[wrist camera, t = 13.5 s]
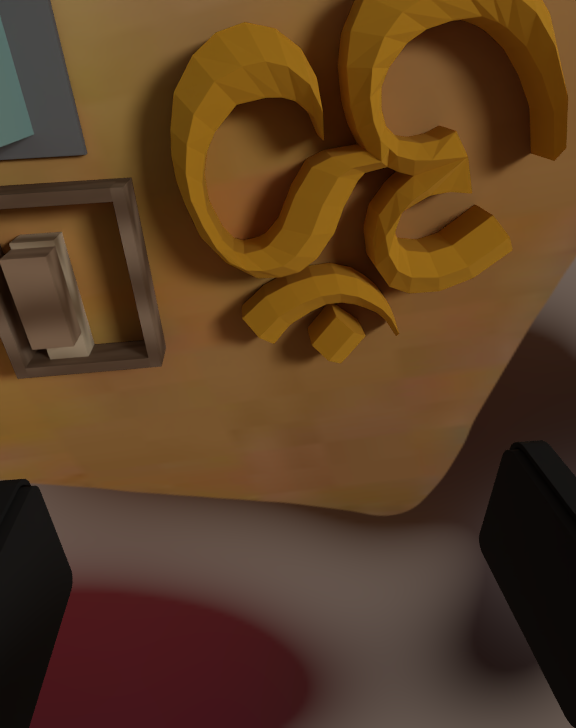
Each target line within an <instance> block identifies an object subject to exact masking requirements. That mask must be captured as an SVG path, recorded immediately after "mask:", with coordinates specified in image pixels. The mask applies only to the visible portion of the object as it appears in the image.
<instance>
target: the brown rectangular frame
mask: <svg viewBox="0 0 576 728" xmlns="http://www.w3.org/2000/svg"><path fill="white" fill-rule="evenodd" d="M101 202H113V205H114V209H115V213H116V218H117V222H118V227H119V231H120V235H121V240H122V244H123V248H124V253H125V257H126V262H127V266H128V270H129V275H130V279H131V283H132V288H133V292H134V297H135V301H136V305H137V310H138V314H139V318H140V323H141V327H142V332H143V336H144V340H142V341H130V342H118V343H106V344H94V346H93V348H92V351H91V353H90V355H89V356H86V357H74V358H62V359H50V357H49V355H48V352H47V349H37V350H32V348H31V345H30V343H29V340H28V337H27V334H26V332H25V329H24V326H23V324H22V321H21V318H20V316H19V313H18V310H17V308H16V305H15V302H14V300H13V297H12V294H11V292H10V289H9V286H8V283H7V281H6V278H5V275H4V273H3V270H2V267H1V265H0V337H1V339H2V342H3V344H4V347H5V349H6V351H7V354H8V356H9V359H10V361H11V364H12V366H13V369H14V371H15V374H16V376H17V378H18V379H21V378H32V377H44V376H56V375H67V374H79V373H91V372H102V371H114V370H125V369H137V368H149V367H160V366H162V362H163V358H164V354H165V350H166V345H165V340H164V335H163V331H162V326H161V321H160V316H159V311H158V306H157V301H156V296H155V291H154V286H153V281H152V276H151V272H150V267H149V262H148V257H147V252H146V247H145V242H144V237H143V232H142V227H141V222H140V218H139V213H138V208H137V203H136V198H135V193H134V188H133V183H132V178H118V179H102V180H87V181H71V182H55V183H39V184H24V185H8V186H0V209H11V208H26V207H41V206H56V205H71V204H86V203H101ZM3 256H4V254H3V251H2V249H1V246H0V259H1V258H2V257H3Z"/></svg>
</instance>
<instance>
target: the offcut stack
mask: <svg viewBox="0 0 576 728" xmlns="http://www.w3.org/2000/svg"><path fill="white" fill-rule="evenodd" d="M9 245H10V247H11V250H10V251H9V252H8V253H7V254H5V255H4V256H3V257H2V258H1V259H0V265H1V267H2V270H3V273H4V275H5V278H6V281H7V283H8V286H9V289H10V292H11V294H12V297H13V300H14V302H15V305H16V308H17V310H18V313H19V316H20V318H21V321H22V324H23V326H24V329H25V332H26V334H27V337H28V340H29V343H30V345H31V348H32V350H37V349H47V352H48V355H49V357H50V359H62V358H74V357H86V356H89V355H90V353H91V351H92V348H93V346H94V340H93V337H92V334H91V330H90V327H89V323H88V320H87V317H86V313H85V310H84V306H83V303H82V299H81V296H80V293H79V289H78V286H77V282H76V279H75V275H74V272H73V269H72V265H71V262H70V258H69V255H68V251H67V248H66V245H65V241H64V238H63V234H62V232H54V233H39V234H25V235H19V236H18V237H16V238H15V239H14V240H13V241H11V242H10V243H9Z"/></svg>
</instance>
